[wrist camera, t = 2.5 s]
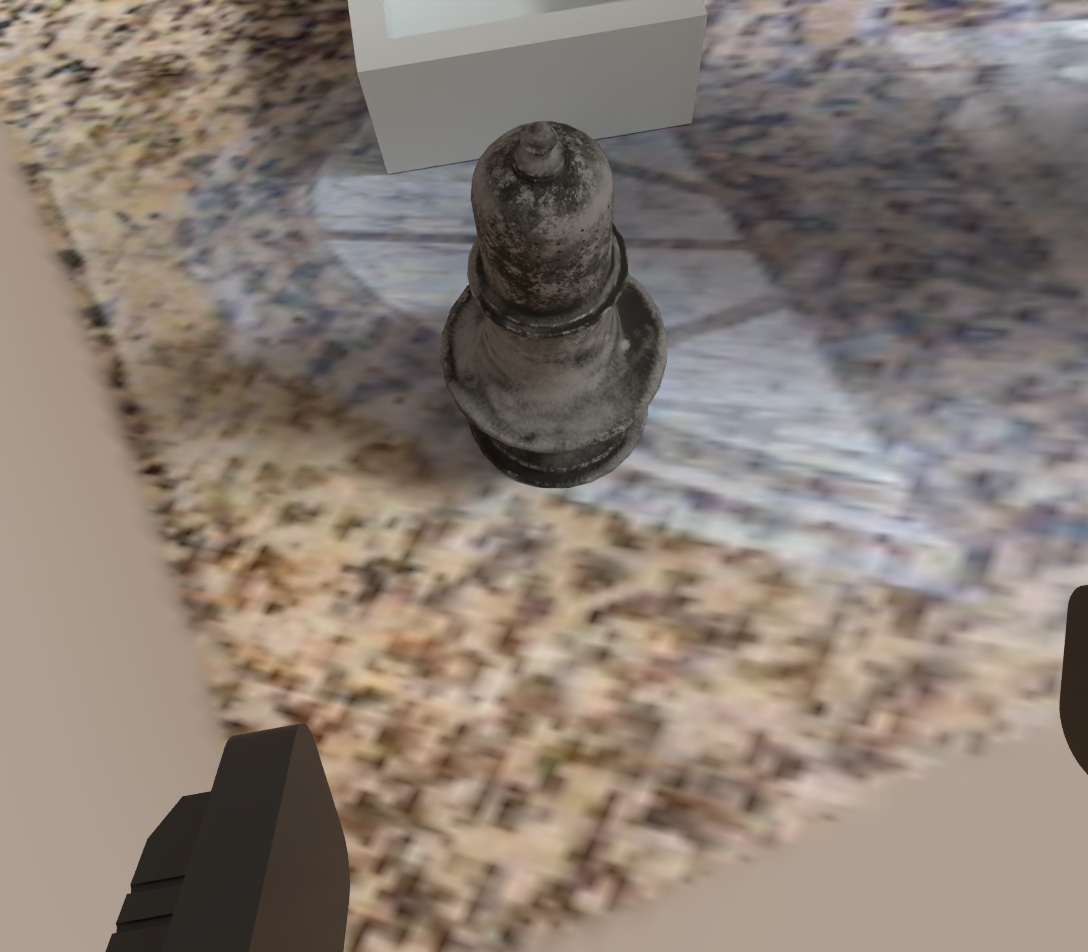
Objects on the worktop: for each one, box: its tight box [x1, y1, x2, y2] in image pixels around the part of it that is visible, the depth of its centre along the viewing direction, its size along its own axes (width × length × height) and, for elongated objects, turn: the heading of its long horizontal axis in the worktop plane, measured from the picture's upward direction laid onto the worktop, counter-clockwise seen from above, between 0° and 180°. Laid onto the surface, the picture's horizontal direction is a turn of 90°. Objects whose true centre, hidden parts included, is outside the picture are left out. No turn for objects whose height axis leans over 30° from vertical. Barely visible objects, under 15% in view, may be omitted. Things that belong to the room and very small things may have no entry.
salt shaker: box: [441, 121, 667, 488], centre depth 23 cm, size 6×6×12 cm
